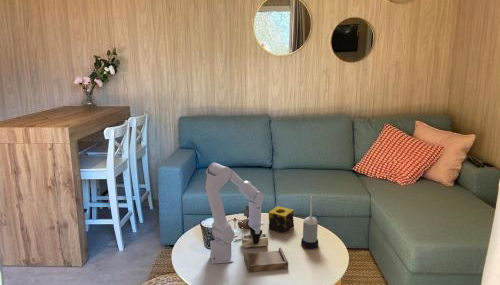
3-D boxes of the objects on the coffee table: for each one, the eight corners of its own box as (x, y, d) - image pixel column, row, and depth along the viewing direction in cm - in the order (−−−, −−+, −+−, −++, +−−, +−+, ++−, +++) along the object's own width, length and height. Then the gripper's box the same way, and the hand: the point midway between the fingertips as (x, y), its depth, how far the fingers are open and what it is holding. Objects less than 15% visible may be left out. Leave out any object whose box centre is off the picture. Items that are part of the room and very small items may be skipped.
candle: (294, 227, 200) (294, 209, 198) (285, 234, 192) (285, 216, 190) (277, 222, 206) (277, 205, 203) (268, 229, 197) (268, 212, 195)
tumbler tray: (243, 247, 177) (243, 239, 176) (241, 242, 182) (241, 234, 181) (268, 245, 179) (268, 237, 178) (266, 240, 184) (266, 232, 183)
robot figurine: (245, 231, 196) (244, 209, 193) (233, 225, 203) (233, 204, 200) (260, 224, 203) (260, 203, 200) (249, 219, 210) (249, 198, 207)
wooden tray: (249, 272, 159) (249, 266, 158) (244, 256, 171) (244, 250, 170) (288, 268, 161) (288, 262, 161) (280, 253, 174) (280, 247, 173)
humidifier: (300, 248, 178) (301, 198, 172) (302, 240, 186) (303, 192, 180) (317, 250, 176) (319, 200, 171) (318, 242, 184) (320, 194, 178)
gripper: (266, 220, 171) (266, 247, 174) (260, 207, 185) (260, 233, 188) (251, 221, 170) (251, 248, 173) (246, 208, 184) (246, 234, 187)
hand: (254, 240), depth 180 cm, fingers closed on tumbler tray, 5 cm apart
